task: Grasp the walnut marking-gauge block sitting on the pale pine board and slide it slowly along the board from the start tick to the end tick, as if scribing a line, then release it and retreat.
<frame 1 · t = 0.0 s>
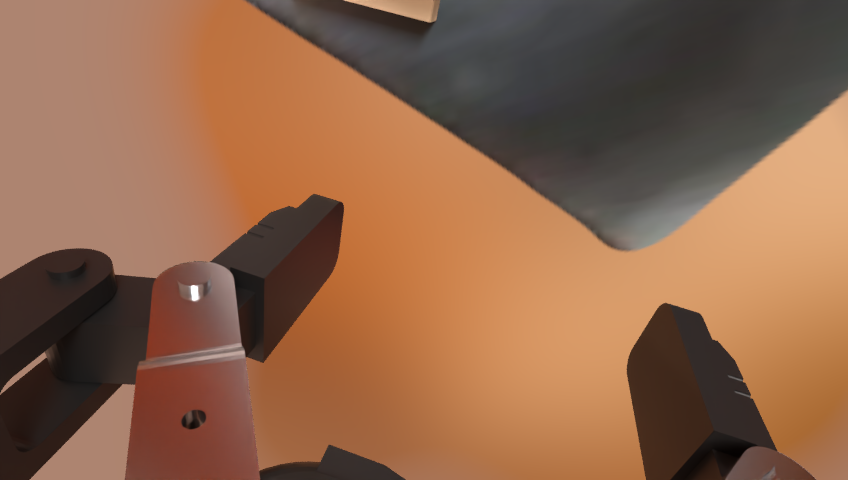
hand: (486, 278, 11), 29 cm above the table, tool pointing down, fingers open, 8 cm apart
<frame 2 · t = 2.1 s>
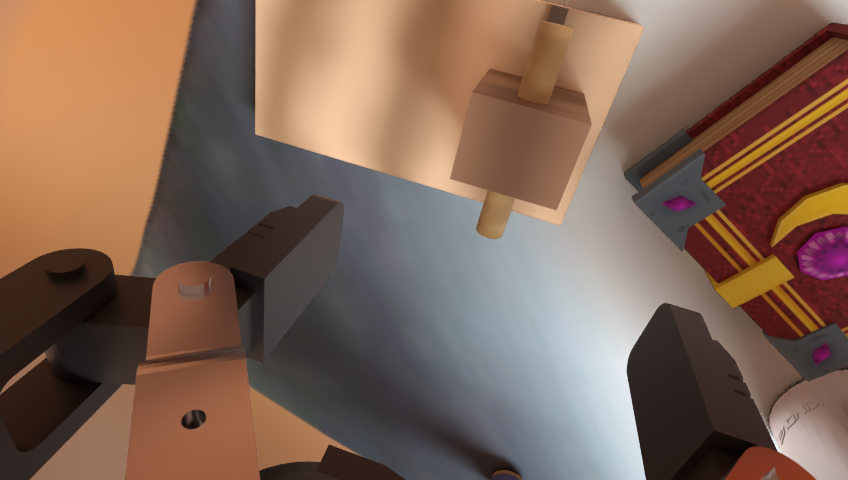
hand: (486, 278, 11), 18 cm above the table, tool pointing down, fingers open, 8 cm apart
decorative book: (802, 203, 26), on the table
rubber mallet: (508, 475, 43), on the table
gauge: (524, 118, 25), point 2 cm above the table, touching board
board: (427, 82, 27), on the table
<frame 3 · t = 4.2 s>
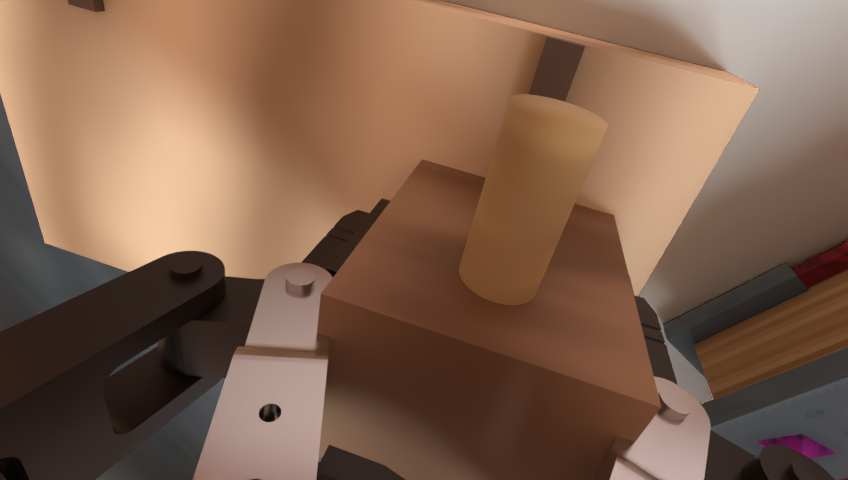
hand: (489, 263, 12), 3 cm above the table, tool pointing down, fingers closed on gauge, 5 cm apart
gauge: (493, 250, 13), point 2 cm above the table, touching board, gripper
board: (324, 165, 15), on the table
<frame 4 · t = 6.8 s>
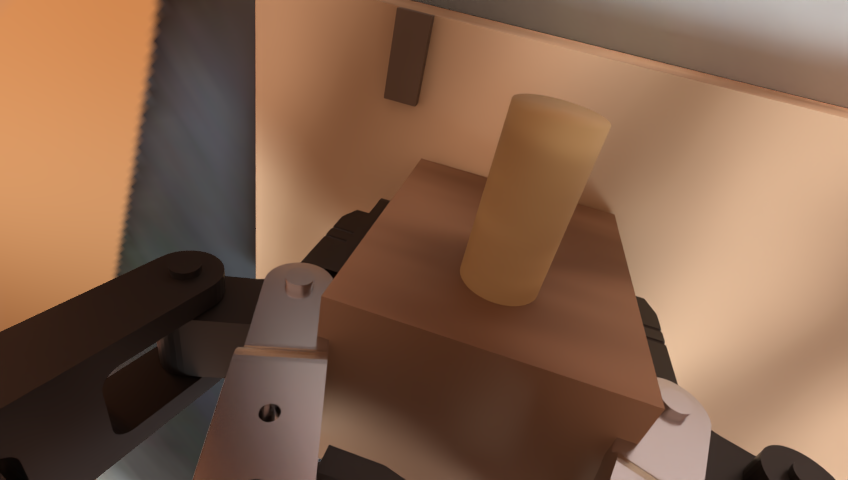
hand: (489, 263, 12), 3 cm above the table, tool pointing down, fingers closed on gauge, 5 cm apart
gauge: (493, 250, 12), point 2 cm above the table, touching gripper
board: (584, 247, 14), on the table
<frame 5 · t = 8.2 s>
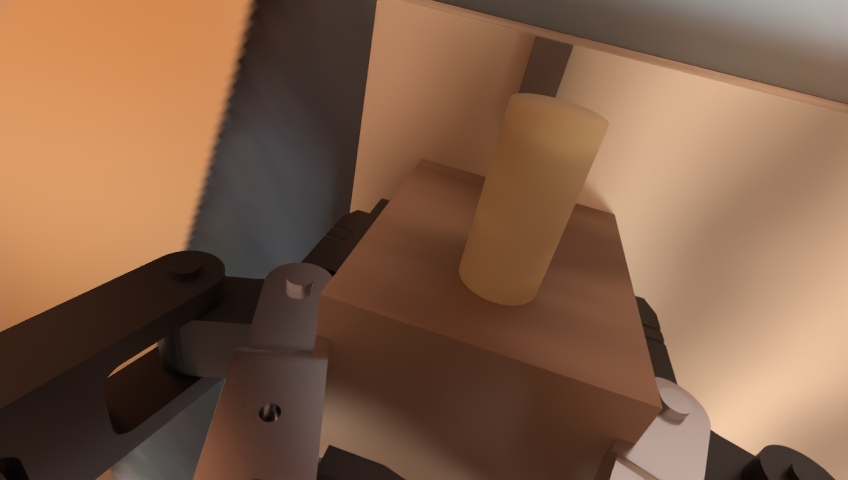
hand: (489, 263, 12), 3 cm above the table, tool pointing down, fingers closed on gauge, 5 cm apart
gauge: (493, 250, 12), point 2 cm above the table, touching board, gripper
board: (686, 275, 14), on the table
when the fingers open (3 cm above the table, at t = 9.0 s): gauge stays where it is, resting on board.
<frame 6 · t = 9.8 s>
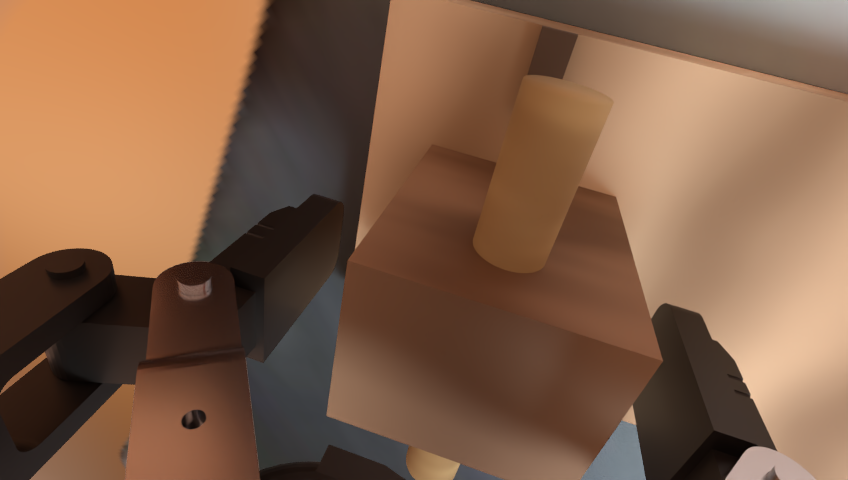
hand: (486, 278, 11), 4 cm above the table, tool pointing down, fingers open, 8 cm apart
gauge: (500, 232, 13), point 2 cm above the table, touching board
board: (684, 258, 14), on the table
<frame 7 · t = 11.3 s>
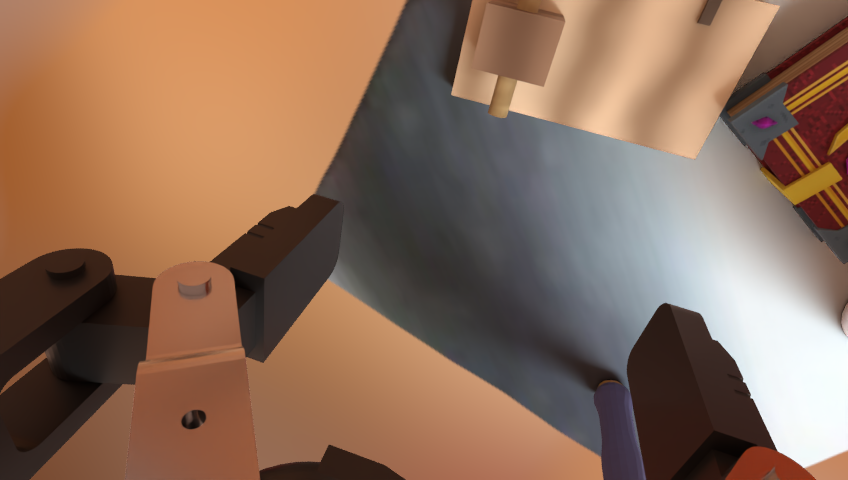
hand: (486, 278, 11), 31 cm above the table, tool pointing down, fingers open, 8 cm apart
decorative book: (844, 132, 35), on the table
rubber mallet: (611, 386, 52), on the table
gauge: (521, 35, 34), point 2 cm above the table, touching board
board: (594, 51, 35), on the table
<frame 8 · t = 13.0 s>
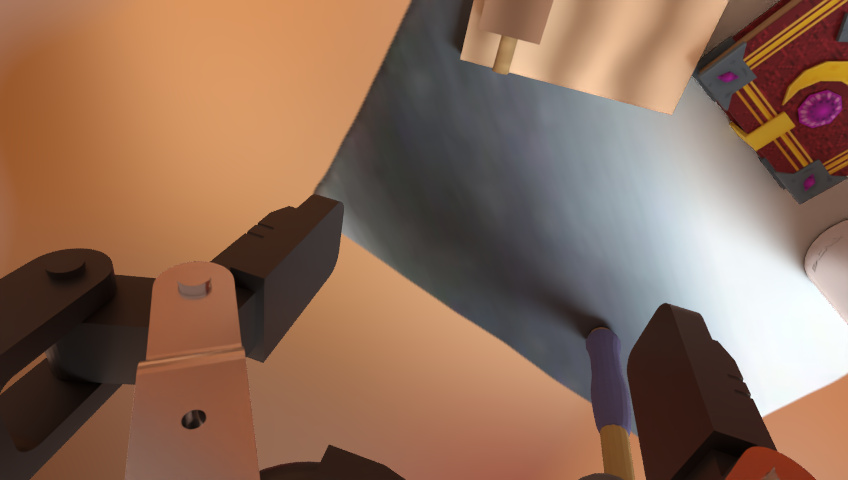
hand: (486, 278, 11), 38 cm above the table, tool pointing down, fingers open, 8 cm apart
decorative book: (801, 90, 40), on the table
rubber mallet: (601, 333, 57), on the table
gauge: (521, 5, 40), point 2 cm above the table, touching board
board: (584, 20, 41), on the table
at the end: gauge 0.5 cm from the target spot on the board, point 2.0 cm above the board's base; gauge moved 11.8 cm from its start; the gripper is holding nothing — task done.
